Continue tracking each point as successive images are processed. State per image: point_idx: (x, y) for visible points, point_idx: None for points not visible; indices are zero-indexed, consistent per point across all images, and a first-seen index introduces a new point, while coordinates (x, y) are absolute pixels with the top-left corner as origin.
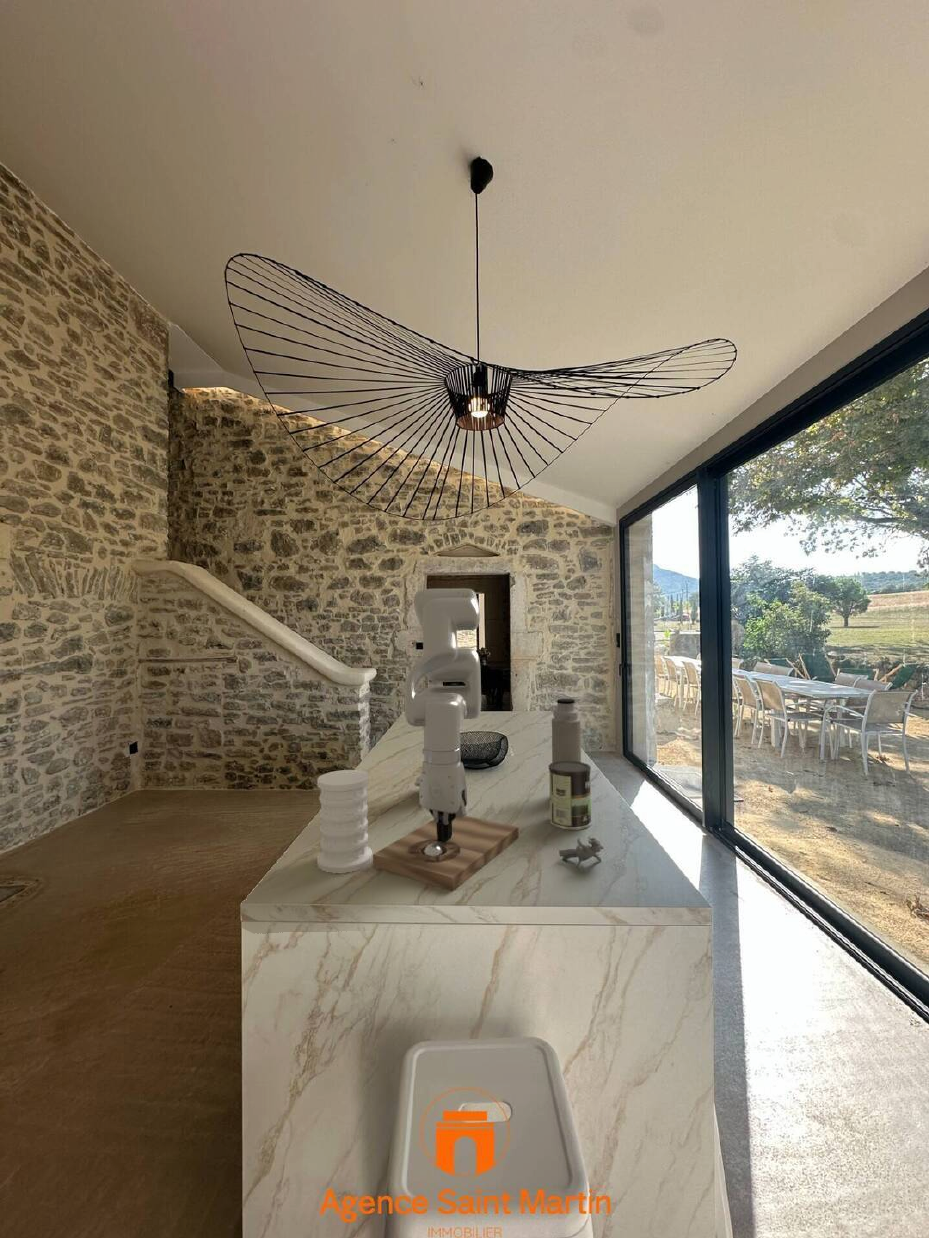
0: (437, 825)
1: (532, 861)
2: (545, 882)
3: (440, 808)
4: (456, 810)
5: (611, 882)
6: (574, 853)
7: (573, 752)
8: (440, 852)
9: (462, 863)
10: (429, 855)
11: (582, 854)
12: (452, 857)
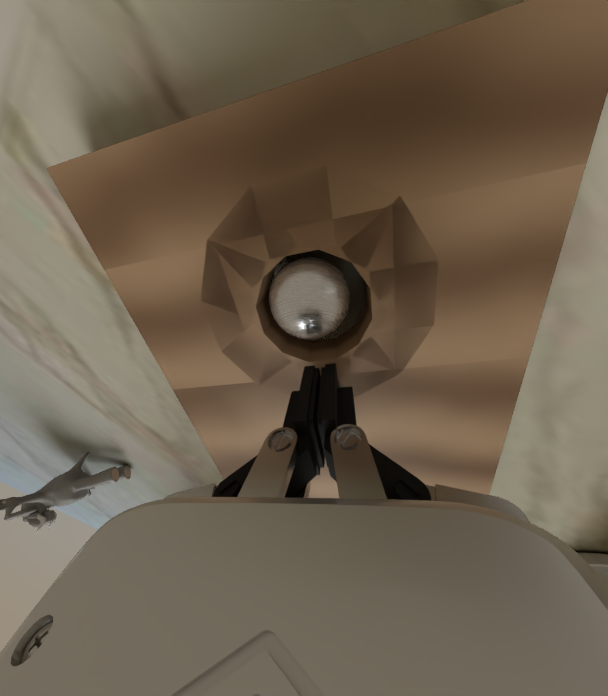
0: (331, 410)
1: (150, 435)
2: (52, 382)
3: (238, 527)
4: (92, 536)
5: (15, 438)
6: (77, 479)
7: None
8: (271, 310)
9: (149, 298)
10: (291, 263)
11: (55, 480)
12: (211, 311)
